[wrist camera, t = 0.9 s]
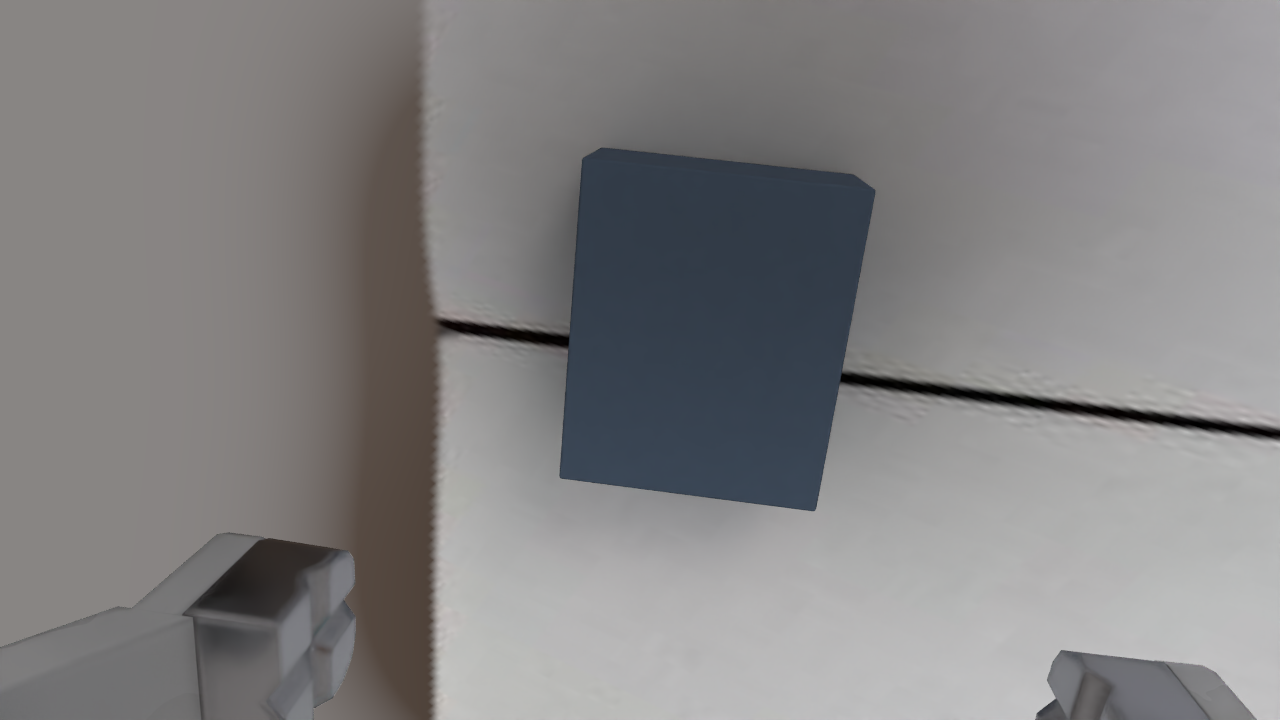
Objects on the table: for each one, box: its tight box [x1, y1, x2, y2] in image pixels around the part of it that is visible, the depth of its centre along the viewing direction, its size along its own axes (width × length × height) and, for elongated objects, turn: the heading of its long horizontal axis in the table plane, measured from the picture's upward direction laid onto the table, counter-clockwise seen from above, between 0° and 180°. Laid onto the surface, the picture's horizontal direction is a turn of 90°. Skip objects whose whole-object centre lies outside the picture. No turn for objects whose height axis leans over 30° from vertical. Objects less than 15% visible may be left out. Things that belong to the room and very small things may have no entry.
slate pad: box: [560, 148, 875, 511], centre depth 21 cm, size 8×6×3 cm
